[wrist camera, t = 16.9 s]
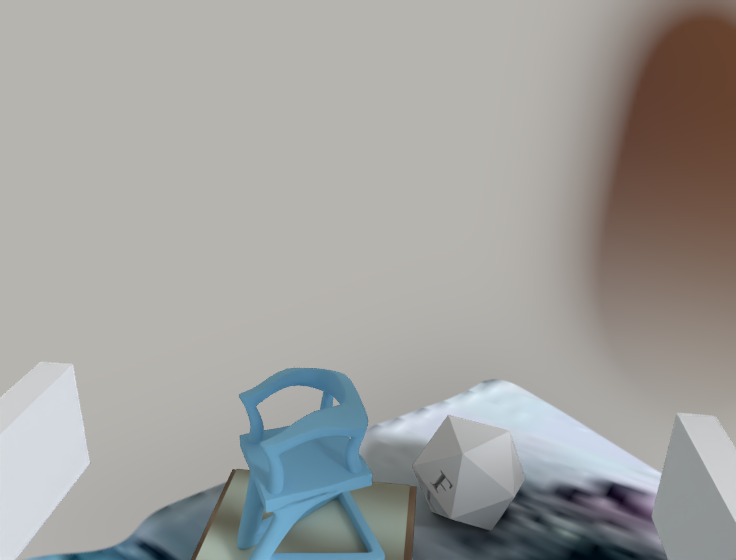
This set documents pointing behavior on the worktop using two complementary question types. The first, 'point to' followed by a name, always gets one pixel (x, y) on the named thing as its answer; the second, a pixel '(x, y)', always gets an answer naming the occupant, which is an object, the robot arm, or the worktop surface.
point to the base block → (317, 523)
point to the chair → (304, 465)
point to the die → (469, 472)
